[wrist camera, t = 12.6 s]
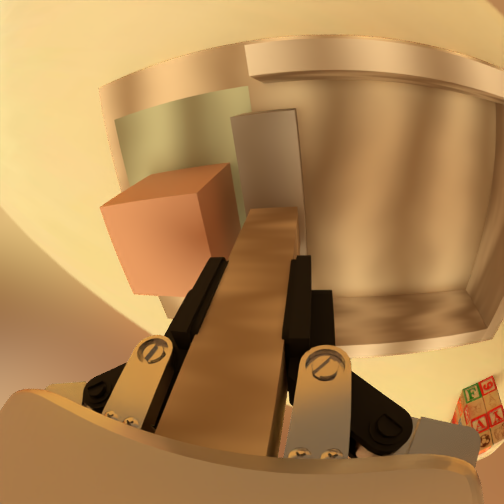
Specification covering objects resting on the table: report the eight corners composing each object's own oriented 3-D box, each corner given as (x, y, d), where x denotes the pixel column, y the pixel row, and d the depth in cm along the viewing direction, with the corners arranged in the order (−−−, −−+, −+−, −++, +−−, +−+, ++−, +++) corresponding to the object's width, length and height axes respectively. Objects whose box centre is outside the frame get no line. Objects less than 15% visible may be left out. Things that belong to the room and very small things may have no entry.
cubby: (497, 69, 9) (547, 72, 4) (463, 305, 20) (485, 350, 15) (106, 87, 16) (50, 94, 11) (171, 311, 27) (147, 355, 22)
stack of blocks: (471, 418, 34) (479, 463, 24) (447, 428, 37) (453, 474, 26) (492, 374, 26) (510, 436, 15) (461, 388, 28) (475, 454, 18)
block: (229, 162, 17) (196, 193, 12) (243, 243, 20) (221, 298, 15) (150, 174, 18) (99, 207, 13) (170, 246, 21) (134, 294, 16)
